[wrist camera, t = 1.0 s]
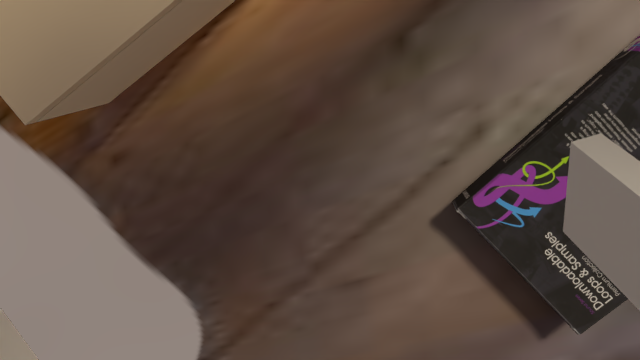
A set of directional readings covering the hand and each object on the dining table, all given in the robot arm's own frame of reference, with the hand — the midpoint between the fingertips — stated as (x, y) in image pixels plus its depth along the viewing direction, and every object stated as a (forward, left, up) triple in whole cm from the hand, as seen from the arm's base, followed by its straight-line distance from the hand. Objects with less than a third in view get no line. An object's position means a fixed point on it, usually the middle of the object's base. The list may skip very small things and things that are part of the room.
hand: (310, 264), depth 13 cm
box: (-1, +20, -31) cm, 37 cm away
